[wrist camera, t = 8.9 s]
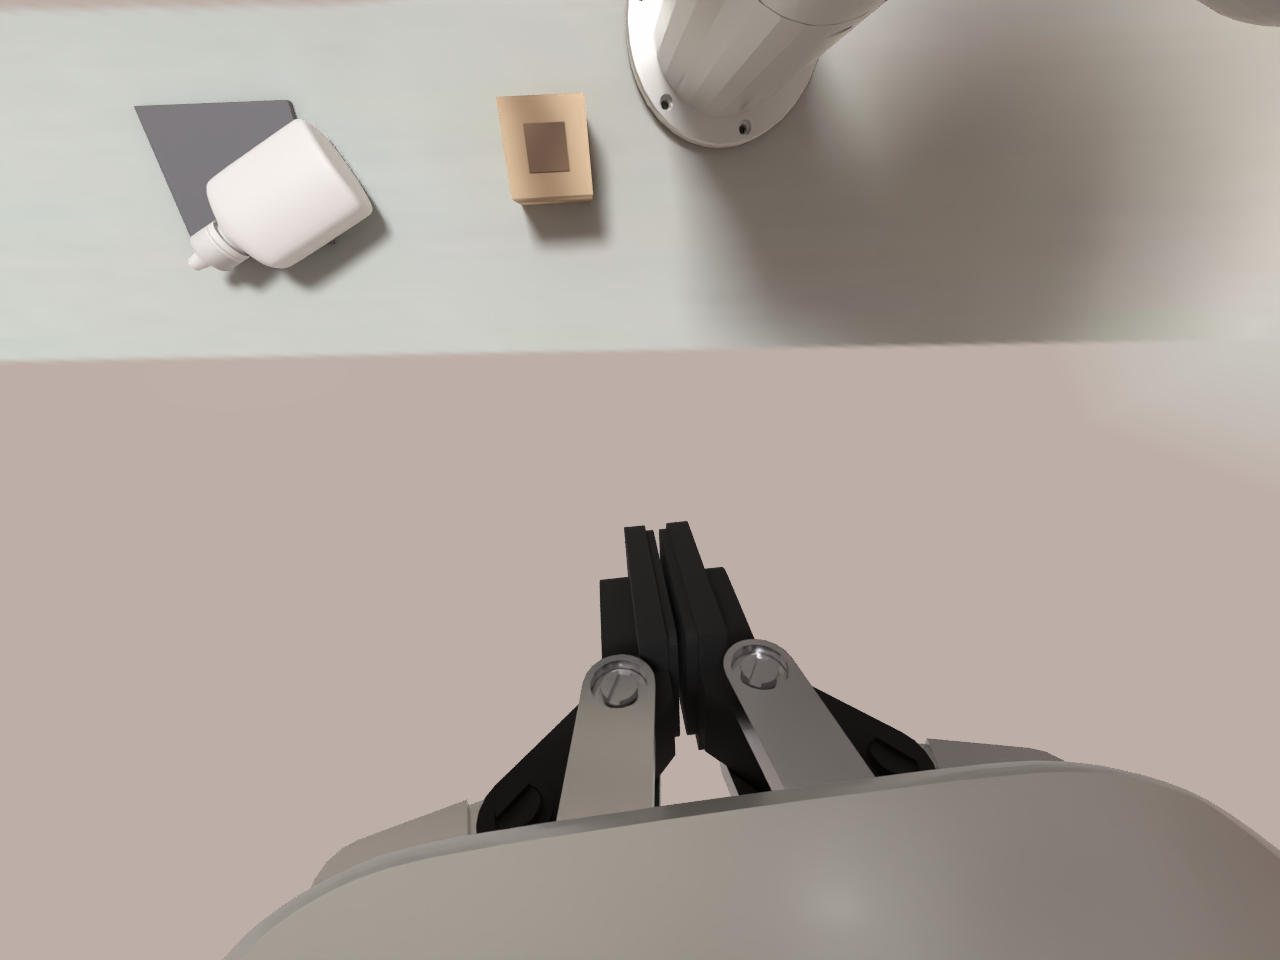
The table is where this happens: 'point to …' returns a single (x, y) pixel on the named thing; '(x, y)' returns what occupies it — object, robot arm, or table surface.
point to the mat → (206, 145)
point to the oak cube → (546, 148)
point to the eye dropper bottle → (279, 202)
